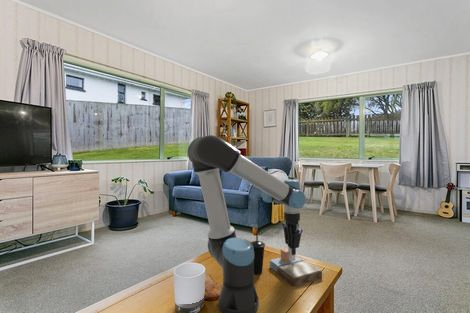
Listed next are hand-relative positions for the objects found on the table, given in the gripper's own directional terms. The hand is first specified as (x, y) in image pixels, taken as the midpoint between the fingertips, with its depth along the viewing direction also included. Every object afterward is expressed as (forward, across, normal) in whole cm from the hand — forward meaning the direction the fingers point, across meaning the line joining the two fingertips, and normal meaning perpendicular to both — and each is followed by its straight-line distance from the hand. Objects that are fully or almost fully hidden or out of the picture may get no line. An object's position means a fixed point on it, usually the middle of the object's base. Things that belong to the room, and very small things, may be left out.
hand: (292, 260), depth 118 cm
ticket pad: (+5, -6, 0) cm, 8 cm away
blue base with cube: (+5, +4, 0) cm, 7 cm away
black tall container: (+5, +6, +16) cm, 18 cm away
